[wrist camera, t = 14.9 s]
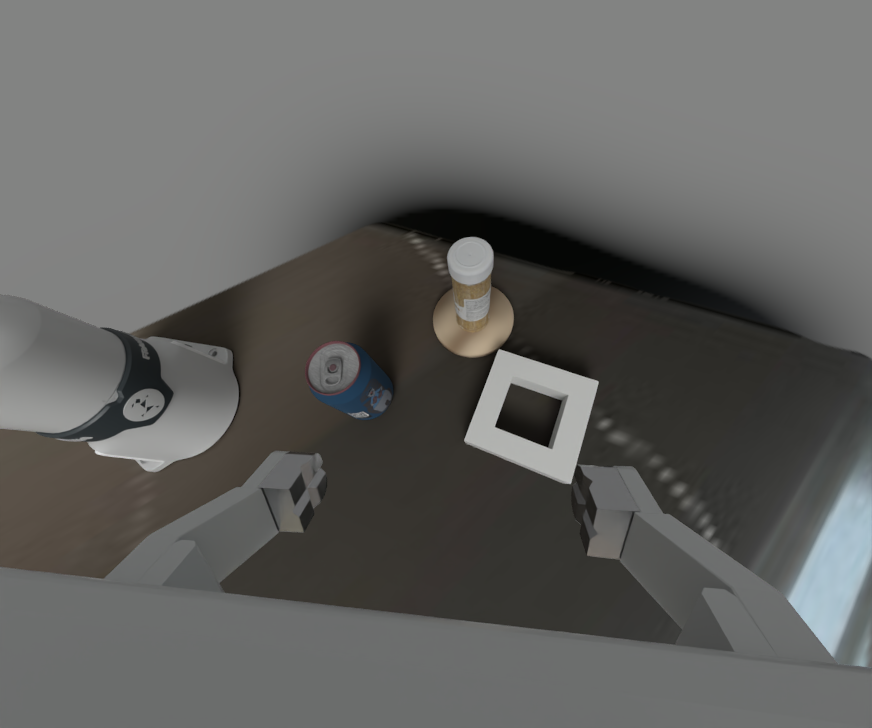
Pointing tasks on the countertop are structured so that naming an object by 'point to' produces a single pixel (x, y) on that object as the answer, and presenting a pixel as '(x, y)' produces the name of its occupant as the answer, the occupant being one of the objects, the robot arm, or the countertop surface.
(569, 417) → the collar
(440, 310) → the disc
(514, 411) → the countertop surface
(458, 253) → the sprinkles bottle
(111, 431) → the robot arm
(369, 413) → the soda can
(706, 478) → the countertop surface
